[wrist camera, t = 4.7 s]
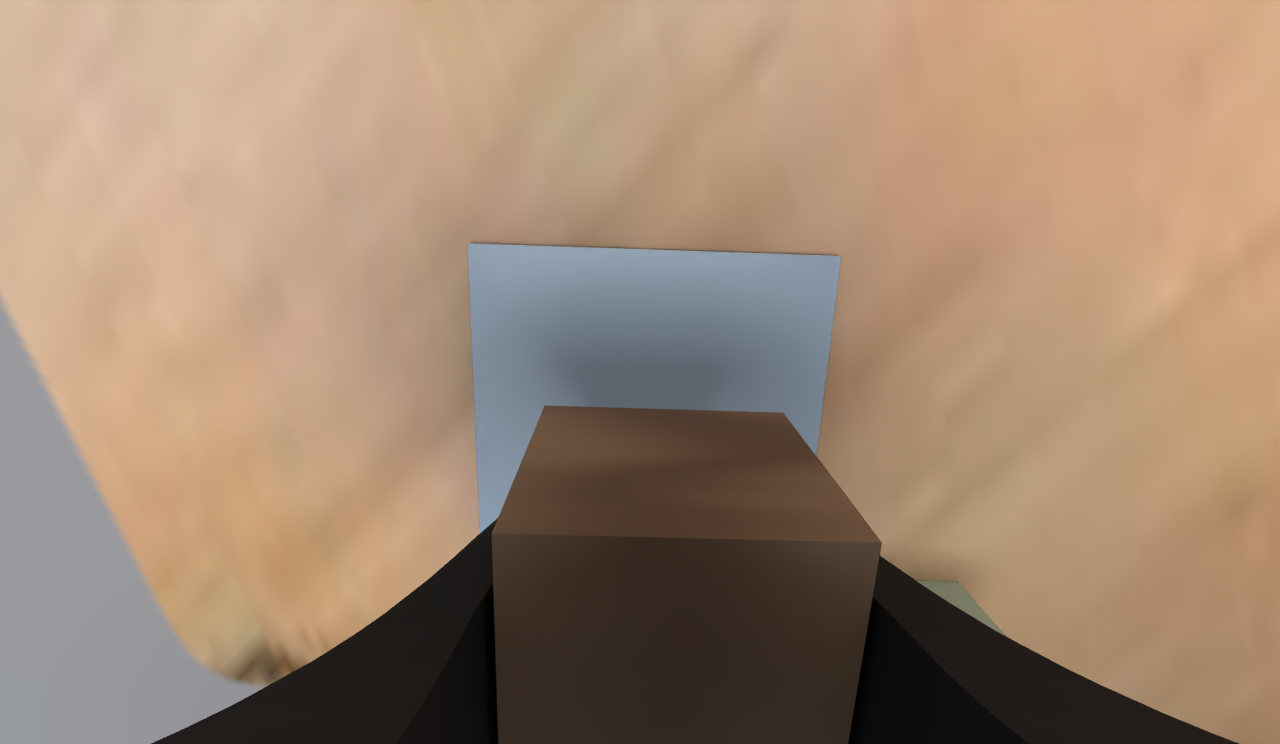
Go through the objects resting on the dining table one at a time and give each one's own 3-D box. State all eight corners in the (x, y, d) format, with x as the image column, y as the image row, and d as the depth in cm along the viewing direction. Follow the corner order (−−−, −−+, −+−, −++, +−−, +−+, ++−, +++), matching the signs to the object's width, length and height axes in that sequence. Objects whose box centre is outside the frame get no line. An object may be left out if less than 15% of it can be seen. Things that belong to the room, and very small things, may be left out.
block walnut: (783, 412, 11) (882, 542, 7) (761, 615, 12) (832, 834, 8) (544, 405, 11) (491, 533, 7) (545, 611, 12) (501, 832, 8)
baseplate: (837, 255, 16) (841, 256, 16) (798, 572, 19) (801, 578, 19) (470, 242, 16) (467, 243, 16) (483, 567, 19) (481, 573, 18)
